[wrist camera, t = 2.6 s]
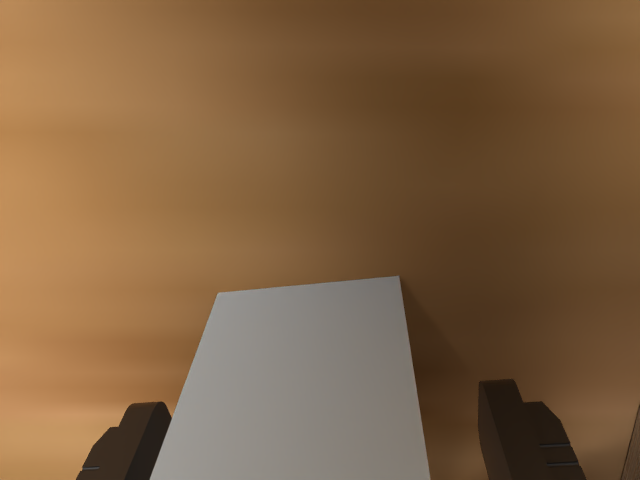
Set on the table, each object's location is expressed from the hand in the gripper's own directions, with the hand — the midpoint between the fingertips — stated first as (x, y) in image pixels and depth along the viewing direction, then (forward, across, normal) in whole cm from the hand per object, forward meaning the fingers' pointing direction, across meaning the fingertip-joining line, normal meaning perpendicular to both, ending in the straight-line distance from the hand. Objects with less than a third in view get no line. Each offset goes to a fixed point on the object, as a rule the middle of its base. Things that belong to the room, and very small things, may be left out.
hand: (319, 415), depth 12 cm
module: (+2, 0, 0) cm, 2 cm away
